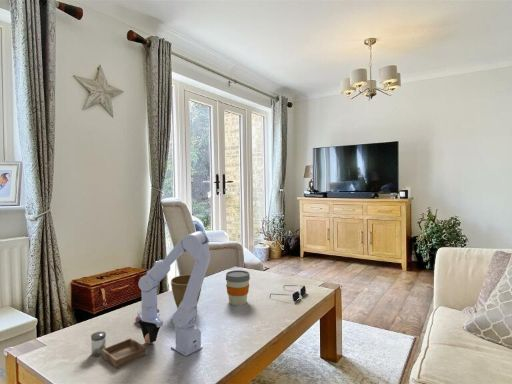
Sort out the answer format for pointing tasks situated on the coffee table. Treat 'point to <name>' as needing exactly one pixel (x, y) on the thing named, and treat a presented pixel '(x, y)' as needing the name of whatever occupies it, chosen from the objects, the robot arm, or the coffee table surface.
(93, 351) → the shaker
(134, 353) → the tray
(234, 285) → the reusable coffee cup
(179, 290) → the plant pot
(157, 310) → the video game controller
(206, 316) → the coffee table surface
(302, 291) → the sunglasses
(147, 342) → the ball
